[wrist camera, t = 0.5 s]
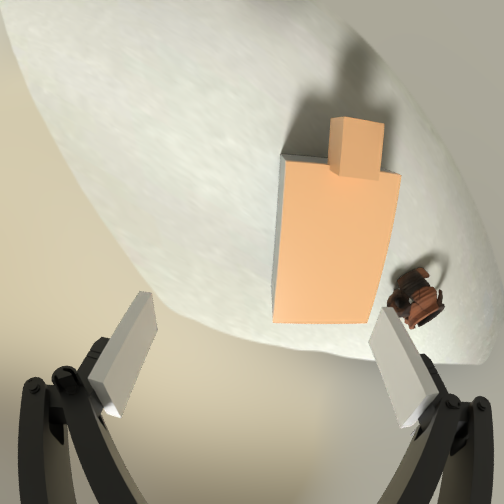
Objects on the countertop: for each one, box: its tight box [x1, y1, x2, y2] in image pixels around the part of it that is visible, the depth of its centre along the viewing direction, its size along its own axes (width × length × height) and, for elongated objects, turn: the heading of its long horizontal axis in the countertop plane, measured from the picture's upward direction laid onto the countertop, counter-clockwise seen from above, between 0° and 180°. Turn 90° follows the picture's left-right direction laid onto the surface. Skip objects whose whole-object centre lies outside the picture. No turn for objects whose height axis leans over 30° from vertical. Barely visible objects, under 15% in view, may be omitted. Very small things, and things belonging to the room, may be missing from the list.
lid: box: [273, 117, 401, 324], centre depth 29 cm, size 25×13×6 cm, turn 178°
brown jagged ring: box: [387, 268, 445, 329], centre depth 42 cm, size 12×10×8 cm
